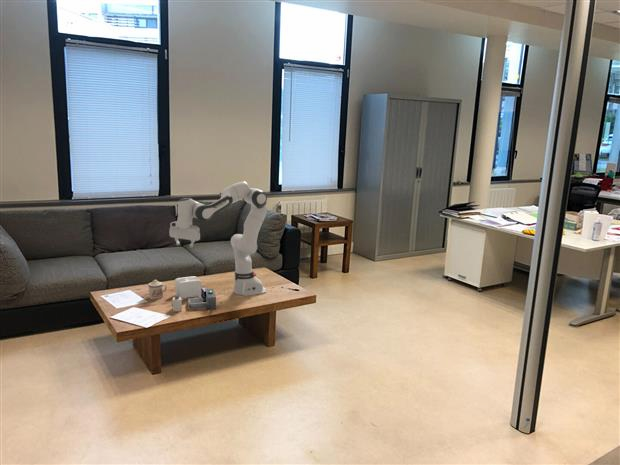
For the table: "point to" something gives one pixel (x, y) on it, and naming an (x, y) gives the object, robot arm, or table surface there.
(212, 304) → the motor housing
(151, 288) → the teacup with lid
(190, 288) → the cable organizer
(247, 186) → the robot arm
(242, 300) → the table surface
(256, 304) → the table surface
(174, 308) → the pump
